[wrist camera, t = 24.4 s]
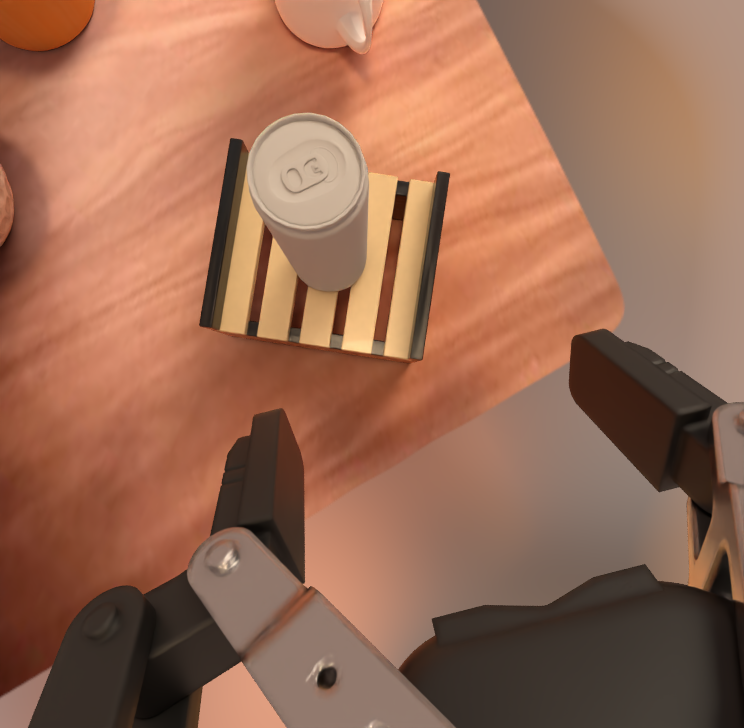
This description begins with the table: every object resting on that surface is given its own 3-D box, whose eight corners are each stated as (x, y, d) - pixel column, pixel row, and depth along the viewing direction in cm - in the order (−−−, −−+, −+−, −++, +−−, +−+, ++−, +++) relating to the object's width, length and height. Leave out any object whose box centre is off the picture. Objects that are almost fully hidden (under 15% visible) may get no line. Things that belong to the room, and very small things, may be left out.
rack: (433, 212, 34) (450, 172, 27) (410, 363, 33) (422, 360, 27) (256, 184, 33) (229, 137, 27) (231, 336, 33) (198, 326, 26)
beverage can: (379, 274, 28) (391, 199, 16) (313, 307, 28) (277, 254, 16) (346, 210, 28) (334, 87, 16) (281, 242, 28) (220, 142, 16)
